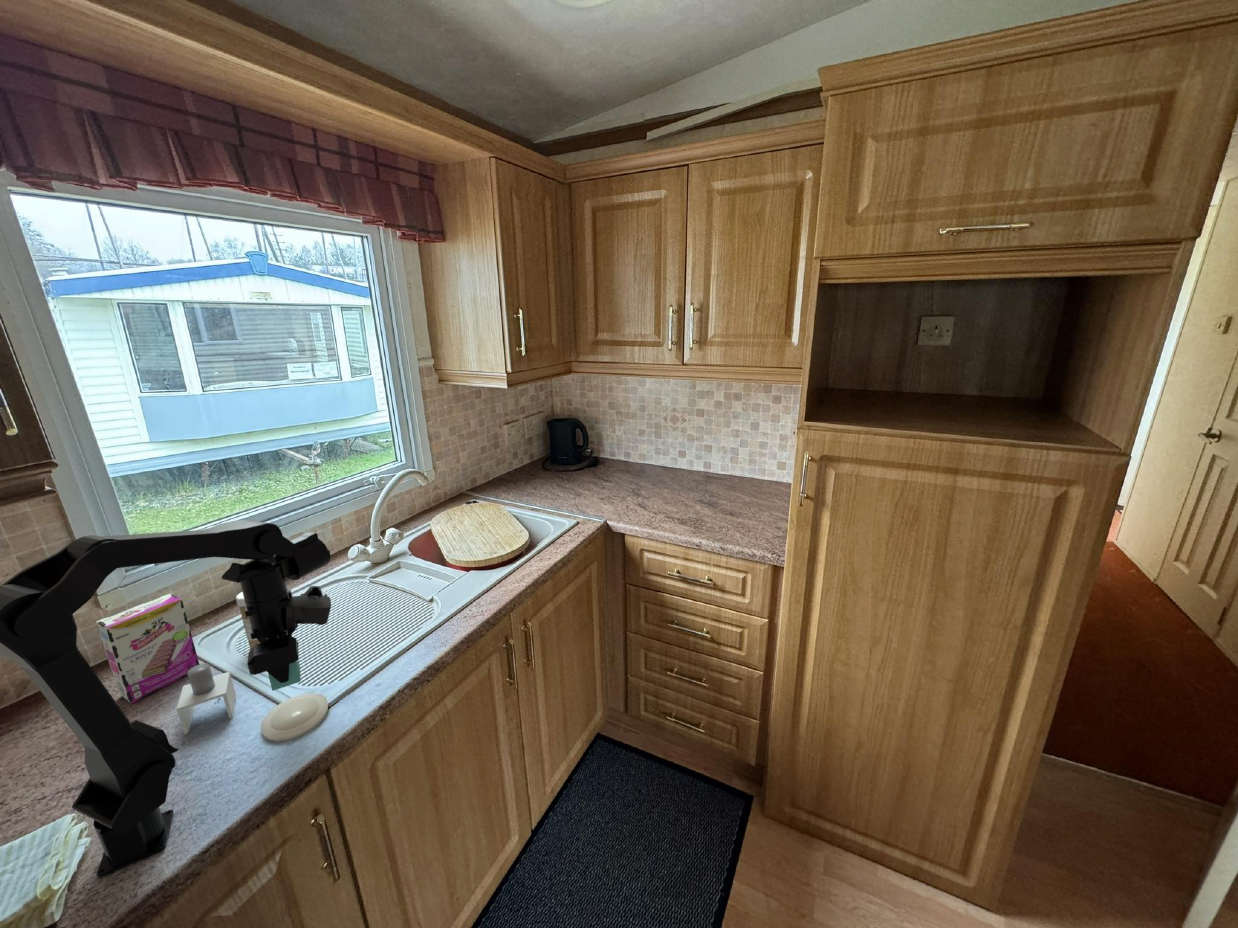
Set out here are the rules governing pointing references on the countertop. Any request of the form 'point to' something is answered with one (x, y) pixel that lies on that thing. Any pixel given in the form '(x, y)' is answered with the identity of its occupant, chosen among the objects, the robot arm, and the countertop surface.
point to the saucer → (294, 717)
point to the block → (293, 677)
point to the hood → (204, 692)
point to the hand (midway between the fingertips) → (285, 674)
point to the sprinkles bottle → (246, 620)
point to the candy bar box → (148, 646)
